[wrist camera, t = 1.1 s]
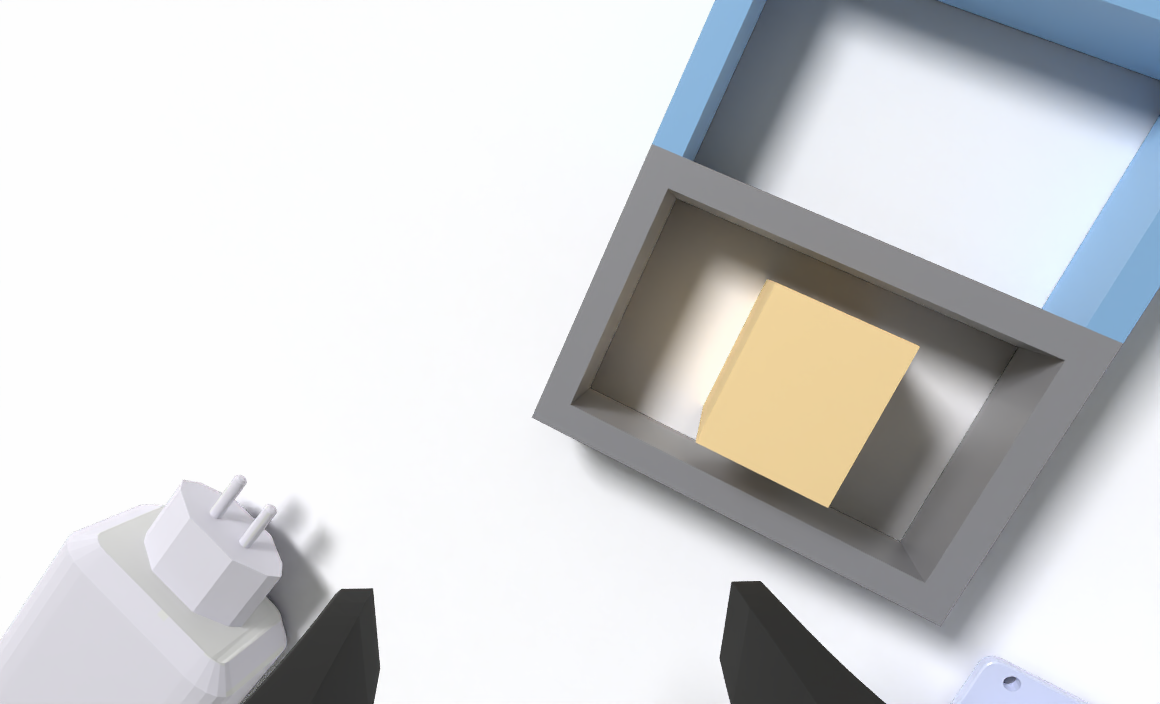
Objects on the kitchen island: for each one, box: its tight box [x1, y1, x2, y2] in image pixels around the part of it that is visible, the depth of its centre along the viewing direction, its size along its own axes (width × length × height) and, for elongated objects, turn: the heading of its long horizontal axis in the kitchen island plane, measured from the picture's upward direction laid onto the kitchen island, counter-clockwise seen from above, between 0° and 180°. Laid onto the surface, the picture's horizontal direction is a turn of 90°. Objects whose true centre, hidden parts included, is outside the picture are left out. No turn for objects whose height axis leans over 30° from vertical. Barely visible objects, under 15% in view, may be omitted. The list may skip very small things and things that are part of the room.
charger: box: [0, 475, 287, 704], centre depth 27 cm, size 5×9×15 cm
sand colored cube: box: [696, 279, 920, 508], centre depth 20 cm, size 4×5×5 cm
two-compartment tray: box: [532, 0, 1160, 627], centre depth 20 cm, size 14×18×3 cm
